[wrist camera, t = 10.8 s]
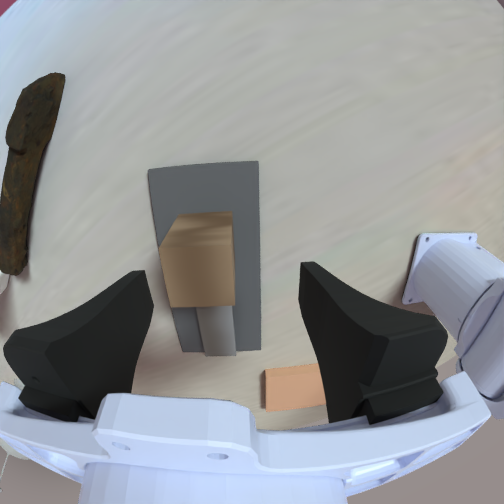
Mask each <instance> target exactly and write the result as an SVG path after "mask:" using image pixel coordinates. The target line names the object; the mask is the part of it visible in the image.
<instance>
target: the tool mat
mask: <svg viewBox="0 0 504 504" xmlns="http://www.w3.org/2000/svg"><path fill="white" fill-rule="evenodd" d="M148 177H149V185H150V193H151V201H152V208H153V215H154V221H155V228H156V234H157V240H158V245H159V247H160V245H161V243H162V241H163V240H164V238H165V236H166V235H167V233H168V231H169V230H170V228H171V226H172V225H173V223H174V221H175V220H176V218H177V216H178V215H179V214H189V213H204V212H222V211H232V215H233V233H234V250H235V306H232V308H233V319H234V331H235V342H236V351H252V350H261V288H260V216H259V164H258V161H243V162H222V163H207V164H194V165H183V166H173V167H163V168H155V169H149V170H148ZM171 308H172V312H173V316H174V320H175V324H176V328H177V332H178V336H179V340H180V343H181V347H182V351H183V352H205V351H204V346H203V341H202V336H201V331H200V326H199V320H198V315H197V309H196V307H171Z"/></svg>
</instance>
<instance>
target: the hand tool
mask: <svg viewBox="0 0 504 504" xmlns="http://www.w3.org/2000/svg"><path fill="white" fill-rule="evenodd" d="M64 82H65V75H64V74H61V73H56V72H55V73H50V74H48V75H46V76H44V77H41V78H39V79H37V80H36V81H34V82H33V83H31V84H30V85H28V86H27V87H26V88H24V89H23V90H22V92H21V94H20V96H19V98H18V100H17V103H16V107H15V110H14V112H13V114H12V116H11V119H10V121H9V123H8V126H7V131H6V137H5V138H6V143H7V145H8V146H9V151H8V157H7V163H6V167H5V172H4V177H3V183H2V190H1V197H0V270H1V272H2V273H4V274H10V275H15V276H17V275H19V274H20V273H21V272H22V271H23V268H24V267H25V266H26V265H27V262H28V261H27V258H26V257H25V255H26V253H27V250H28V247H27V246H26V234H27V221H28V215H29V209H30V208H31V205H32V202H31V198H32V193H33V190H34V183H35V178H36V174H37V170H38V166H39V162H40V159H41V155H42V151H43V149H44V147H45V145H46V143H47V142H48V141H49V140H50V139H51V137H52V134H53V131H54V127H55V123H56V120H57V115H58V111H59V106H60V102H61V97H62V92H63V87H64Z"/></svg>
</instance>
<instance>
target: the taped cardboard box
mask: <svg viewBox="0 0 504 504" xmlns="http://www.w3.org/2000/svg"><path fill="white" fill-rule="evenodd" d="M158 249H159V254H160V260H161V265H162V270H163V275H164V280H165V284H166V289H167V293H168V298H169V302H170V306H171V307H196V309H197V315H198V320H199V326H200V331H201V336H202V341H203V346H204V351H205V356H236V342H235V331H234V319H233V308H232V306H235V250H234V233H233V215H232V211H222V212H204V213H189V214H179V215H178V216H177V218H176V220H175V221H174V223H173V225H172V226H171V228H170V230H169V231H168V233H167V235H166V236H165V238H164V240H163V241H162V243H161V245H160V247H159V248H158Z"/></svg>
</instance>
